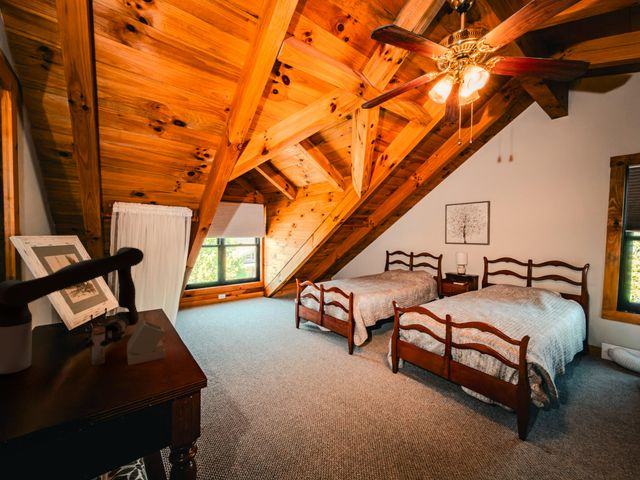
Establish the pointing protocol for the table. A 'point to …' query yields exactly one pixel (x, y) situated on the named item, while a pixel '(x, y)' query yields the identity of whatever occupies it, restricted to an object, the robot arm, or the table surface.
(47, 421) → the table surface
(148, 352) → the socket
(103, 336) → the peg
